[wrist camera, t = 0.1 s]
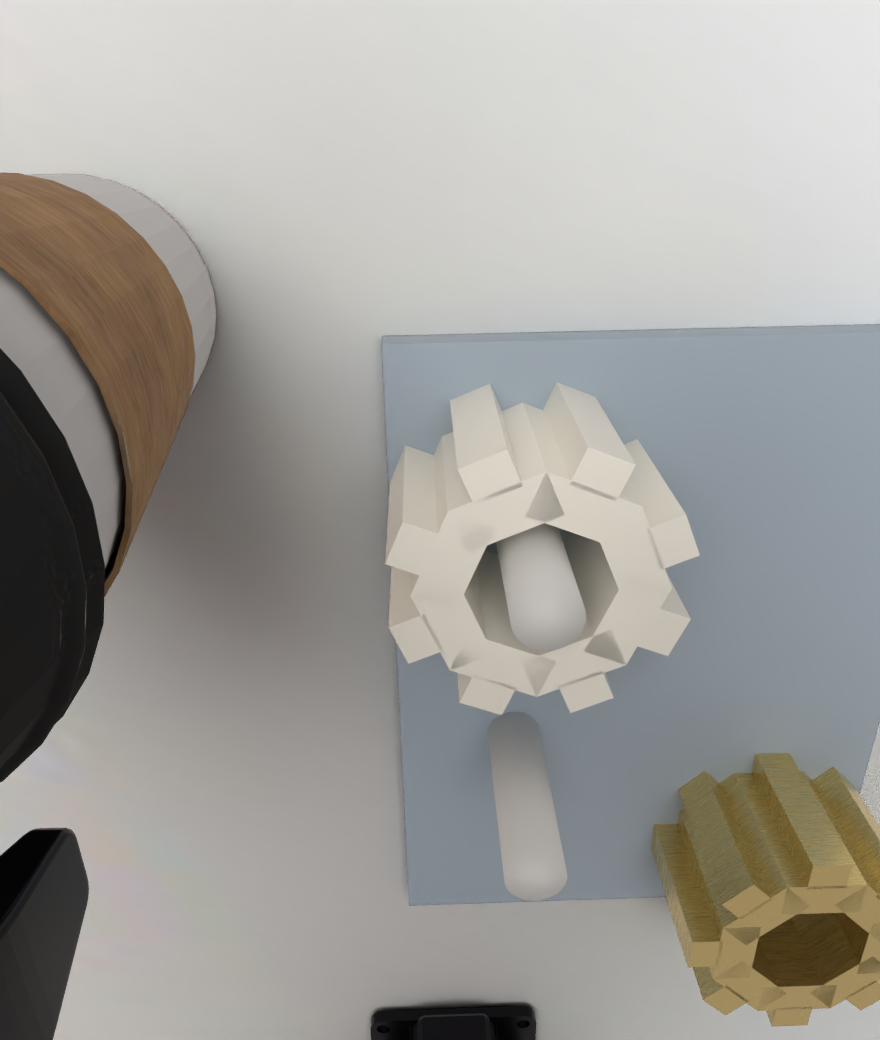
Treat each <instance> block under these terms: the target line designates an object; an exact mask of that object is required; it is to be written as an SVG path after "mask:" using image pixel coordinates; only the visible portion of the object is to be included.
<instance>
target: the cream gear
mask: <svg viewBox="0 0 880 1040" xmlns="http://www.w3.org/2000/svg"><path fill="white" fill-rule="evenodd" d="M450 407H451V416H452V425H453V432H451V433H448V434H446V435H443V436H442V437H441V439H440V442H439V444H438V446H437V449H436V451H435V453H434V455H432V454H429V453H426V452H423V451H420V450H417V449H415V448H412V447H409V446H406V445H405V446H404V449H403V451H402V454H401V456H400V458H399V461H398V463H397V466H396V468H395V471H394V473H393V476H392V478H391V481H390V494H389V510H388V525H387V541H386V556H385V564H386V565H389V566H392V567H391V587H390V606H389V626H388V628H389V630H390V632H391V633H392V635H393V637H394V639H395V641H396V642H397V644H398V646H399V648H400V650H401V651H402V653H403V655H404V657H405V659H406V660H407V662H408V664H410V663H412V662H415V661H418V660H420V659H423V658H426V657H428V656H431V655H434V654H437V653H439V652H440V653H441V655H442V657H443V658H444V660H445V662H446V664H447V666H448V668H449V670H450V671H454V672H457V675H458V689H459V703H462V704H466V705H469V706H472V707H476V708H479V709H482V710H486V711H489V712H492V713H496V714H499V715H502V714H503V712H504V710H505V708H506V706H507V705H508V703H509V701H510V699H511V697H512V695H513V693H514V691H515V690H516V691H519V692H522V693H526V694H529V695H532V696H535V697H538V696H541V695H544V694H547V693H549V692H552V691H555V690H558V689H560V692H561V694H562V696H563V698H564V700H565V702H566V704H567V707H568V709H569V711H570V713H572V712H575V711H578V710H581V709H584V708H587V707H590V706H592V705H595V704H598V703H601V702H604V701H607V700H609V699H612V698H614V697H613V694H612V691H611V688H610V685H609V682H608V679H607V676H606V672H608V671H611V670H614V669H617V668H620V667H622V666H625V665H627V663H628V661H629V660H630V658H631V656H632V655H633V653H634V651H635V650H636V648H637V646H638V647H641V648H644V649H647V650H650V651H653V652H656V653H659V654H663V655H666V656H668V655H669V654H670V652H671V650H672V649H673V647H674V646H675V644H676V642H677V641H678V639H679V638H680V636H681V634H682V633H683V631H684V630H685V628H686V626H687V625H688V623H689V622H690V620H691V618H690V616H689V614H688V613H687V611H686V609H685V607H684V605H683V603H682V601H681V599H680V597H679V595H678V593H677V592H676V590H675V588H674V586H673V584H672V582H671V580H670V578H669V576H668V574H667V573H666V570H665V568H667V567H670V566H673V565H675V564H678V563H681V562H683V561H686V560H689V559H692V558H694V557H697V556H700V554H699V551H698V548H697V545H696V542H695V539H694V536H693V533H692V531H691V528H690V525H689V522H688V519H687V516H686V513H685V512H684V510H683V509H682V507H681V506H680V504H679V503H678V501H677V500H676V498H675V496H674V495H673V493H672V492H671V490H670V489H669V487H668V486H667V484H666V482H665V481H664V479H663V478H662V476H661V475H660V473H659V472H658V470H657V468H656V467H655V465H654V464H653V462H652V461H651V459H650V458H649V456H648V455H647V453H646V451H645V450H644V448H643V447H642V445H641V444H640V442H639V441H638V439H637V440H634V441H632V442H629V443H627V444H623V442H622V441H621V439H620V437H619V436H618V434H617V432H616V430H615V429H614V427H613V425H612V424H611V422H610V420H609V419H608V417H607V415H606V414H605V412H604V410H603V409H602V407H601V405H600V404H599V402H598V400H597V399H596V397H595V396H592V395H589V394H587V393H584V392H582V391H579V390H576V389H574V388H571V387H569V386H566V385H563V384H561V383H558V382H556V383H555V385H554V388H553V390H552V392H551V394H550V396H549V398H548V400H547V403H546V405H545V407H544V409H543V410H541V409H539V408H536V407H533V406H531V405H528V404H525V403H520V404H518V405H515V406H513V407H511V408H508V409H506V410H503V411H502V410H501V408H500V406H499V403H498V401H497V399H496V396H495V394H494V392H493V389H492V387H491V384H488V385H485V386H483V387H480V388H478V389H476V390H473V391H471V392H469V393H466V394H464V395H462V396H459V397H457V398H454V399H452V400H450ZM543 523H546V524H549V525H552V526H555V527H557V528H560V529H563V530H566V531H569V534H568V536H567V538H566V540H565V542H564V547H565V550H566V553H567V556H568V559H569V562H570V565H571V568H572V571H573V574H574V577H575V580H576V583H577V586H578V589H579V592H580V595H581V598H582V601H583V604H584V607H585V610H586V623H585V626H584V629H583V631H582V632H581V634H580V635H579V636H578V638H577V639H575V640H574V641H573V642H572V643H570V644H569V645H567V646H565V647H563V648H560V649H557V650H552V651H540V650H535V649H532V648H529V647H527V646H525V645H524V644H522V643H521V642H520V641H519V640H518V639H517V638H516V637H515V635H514V633H513V631H512V628H511V623H510V618H509V612H508V606H507V601H506V595H505V590H504V584H503V579H502V573H501V568H500V562H499V556H498V555H496V554H493V553H490V552H487V551H485V549H486V547H487V545H489V544H492V543H495V542H497V541H500V540H502V539H505V538H507V537H510V536H512V535H515V534H518V533H520V532H523V531H525V530H528V529H530V528H533V527H536V526H538V525H541V524H543Z"/></svg>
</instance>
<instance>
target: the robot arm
mask: <svg viewBox="0 0 880 1040" xmlns="http://www.w3.org/2000/svg"><path fill="white" fill-rule="evenodd" d="M88 894H89V885H88V878H87V874H86V871H85V867H84V863H83V860H82V856H81V853H80V849H79V845H78V842H77V838H76V836H75V833H74V832H73V831H72V830H71V829H68V828H39V829H34V830H31V831H29V832H28V833H26V834H25V835H24V836H22V837H21V838H20V839H19V840H18V841H17V842H16V843H14V844H13V845H12V846H11V847H10V848H9V849H7V850H6V851H5V852H4V853H3V854H2V855H1V856H0V1040H53V1037H54V1033H55V1029H56V1026H57V1022H58V1018H59V1014H60V1010H61V1006H62V1002H63V998H64V994H65V990H66V986H67V982H68V978H69V974H70V970H71V966H72V962H73V958H74V954H75V950H76V946H77V942H78V938H79V934H80V930H81V926H82V922H83V918H84V914H85V910H86V906H87V902H88ZM535 1033H536V1020H535V1013H534V1010H533V1009H532V1008H529V1007H525V1006H516V1007H488V1008H461V1009H433V1010H405V1011H382V1012H377V1013H375V1014H374V1015H373V1016H372V1018H371V1040H535Z"/></svg>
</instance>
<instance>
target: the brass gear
mask: <svg viewBox="0 0 880 1040" xmlns="http://www.w3.org/2000/svg"><path fill="white" fill-rule="evenodd" d="M678 791H679V793H680V796H681V799H682V801H683V804H684V807H685V808H683V809H682V810H680V812H679V819H678V823H676V824H654V827H653V835H652V842H651V850H652V853H653V857H654V860H655V863H656V866H657V869H658V873H659V876H660V879H661V882H662V885H663V889H664V892H665V895H666V898H667V901H668V905H669V908H670V911H671V914H672V917H673V921H674V924H675V927H676V930H677V933H678V937H679V940H680V943H681V946H682V949H683V953H684V956H685V959H686V962H687V965H688V967H693V969H694V972H695V976H696V979H697V982H698V985H699V988H700V991H701V994H702V998H703V1000H704V1001H705V1002H707V1003H708V1004H710V1005H711V1006H713V1007H714V1008H716V1009H717V1010H719V1011H720V1012H721V1013H723V1014H724V1015H727V1014H728V1013H730V1012H732V1011H733V1010H735V1009H737V1008H738V1007H740V1006H742V1005H744V1004H745V1003H747V1004H749V1005H750V1006H752V1007H753V1008H755V1009H756V1010H757V1011H762V1010H766V1012H767V1015H768V1017H769V1020H770V1023H771V1025H772V1026H793V1025H807V1024H808V1020H809V1017H810V1013H811V1010H812V1009H818V1008H831V1007H833V1006H835V1005H837V1004H838V1003H840V1002H842V1001H844V1000H845V999H846V1000H848V1001H849V1002H850V1003H852V1004H853V1005H854V1006H856V1007H857V1008H858V1009H860V1010H862V1009H864V1008H866V1007H867V1006H869V1005H871V1004H873V1003H875V1002H876V1001H878V1000H880V827H879V825H878V823H877V822H876V820H875V819H874V817H873V816H872V814H871V812H870V811H869V809H868V808H867V806H866V804H865V803H864V801H863V800H862V798H861V797H860V795H859V793H858V792H857V790H856V789H855V787H854V786H853V784H852V783H851V782H850V781H849V780H848V779H847V778H846V777H844V776H843V775H842V774H841V773H840V772H839V771H838V770H837V769H836V768H835V767H834V766H833V767H831V768H830V769H828V770H827V771H825V772H824V773H822V774H821V775H819V776H818V777H816V778H815V779H813V780H812V779H811V778H810V777H809V776H808V775H806V774H805V773H804V772H803V771H799V769H798V767H797V765H796V763H795V762H794V760H793V758H792V756H791V755H790V753H761V754H755V757H754V762H753V767H752V772H751V773H733V774H732V775H731V776H729V777H728V778H726V779H725V780H723V781H722V782H721V783H719V782H718V781H717V780H716V779H714V778H713V777H712V776H711V775H710V774H708V773H707V772H706V771H705V770H704V771H703V772H702V773H700V774H699V775H697V776H696V777H694V778H693V779H692V780H690V781H689V782H687V783H686V784H685V785H683V786H682V787H680V788H679V789H678Z"/></svg>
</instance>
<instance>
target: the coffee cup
mask: <svg viewBox="0 0 880 1040" xmlns="http://www.w3.org/2000/svg"><path fill="white" fill-rule="evenodd" d="M216 316H217V314H216V305H215V296H214V290H213V287H212V283H211V280H210V277H209V274H208V270H207V267H206V265H205V263H204V262H203V260H202V258H201V256H200V254H199V252H198V250H197V248H196V246H195V245H194V243H193V242H192V241H191V239H190V238H189V237H188V235H187V234H186V233H185V232H184V230H183V229H182V228H181V226H180V225H179V224H178V223H177V222H176V221H175V220H174V219H173V218H172V217H171V216H170V215H169V214H168V213H166V212H165V211H164V210H163V209H162V208H161V207H160V206H159V205H158V204H156V203H154V202H153V201H151V200H150V199H148V198H147V197H145V196H144V195H142V194H141V193H139V192H137V191H136V190H134V189H131V188H129V187H126V186H124V185H121V184H119V183H117V182H114V181H112V180H108V179H103V178H98V177H93V176H88V175H82V174H32V175H24V174H19V173H0V782H2V781H3V780H4V779H5V778H7V777H8V776H9V775H10V774H11V773H12V772H13V771H14V770H15V769H16V768H17V767H18V766H19V765H20V764H21V763H22V762H24V761H25V760H26V759H27V758H28V757H29V756H30V755H31V754H32V753H33V752H34V751H35V750H36V749H37V748H38V747H39V746H41V744H42V743H43V742H44V740H45V739H46V737H47V735H48V734H49V732H50V731H51V729H52V727H53V726H54V724H55V723H56V722H57V721H59V720H60V719H61V718H62V717H63V715H64V714H65V712H66V710H67V709H68V707H69V705H70V704H71V702H72V701H73V699H74V697H75V696H76V694H77V692H78V691H79V689H80V687H81V686H82V684H83V682H84V681H85V679H86V678H87V676H88V674H89V672H90V668H91V665H92V661H93V658H94V654H95V651H96V647H97V644H98V640H99V637H100V633H101V630H102V626H103V619H104V597H105V595H106V593H107V591H108V590H109V588H110V586H111V585H112V583H113V581H114V580H115V578H116V576H117V575H118V573H119V571H120V568H121V566H122V564H123V561H124V559H125V556H126V554H127V552H128V549H129V547H130V544H131V542H132V539H133V537H134V535H135V532H136V530H137V527H138V525H139V522H140V520H141V518H142V515H143V513H144V510H145V508H146V506H147V503H148V501H149V498H150V496H151V493H152V491H153V489H154V486H155V484H156V481H157V479H158V477H159V474H160V472H161V469H162V467H163V464H164V462H165V460H166V457H167V455H168V452H169V450H170V447H171V445H172V443H173V440H174V438H175V435H176V433H177V431H178V428H179V426H180V423H181V421H182V418H183V416H184V414H185V411H186V408H187V405H188V401H189V398H190V396H191V394H192V392H193V390H194V388H195V386H196V384H197V382H198V380H199V378H200V376H201V374H202V372H203V370H204V368H205V366H206V364H207V361H208V358H209V355H210V351H211V348H212V345H213V342H214V338H215V328H216Z"/></svg>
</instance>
